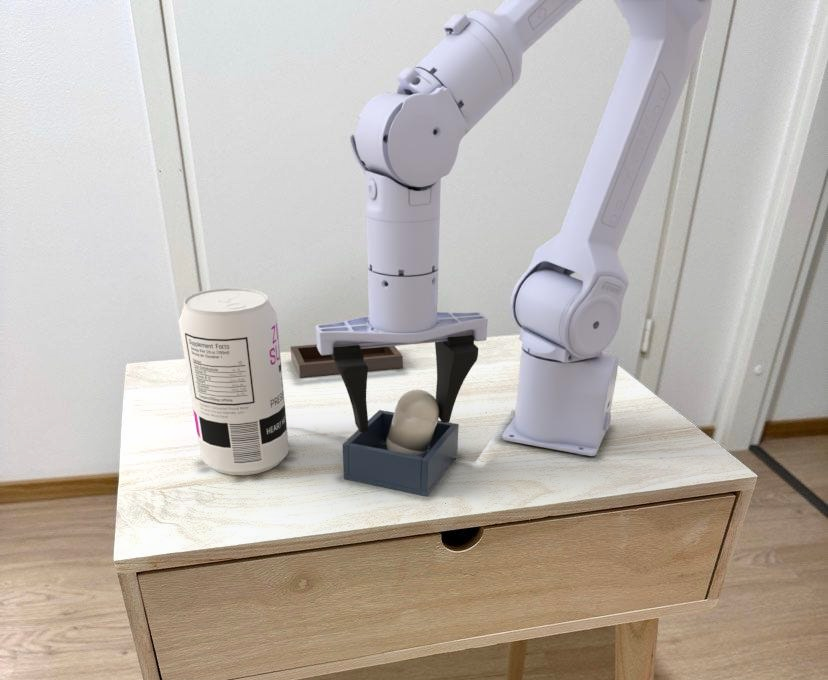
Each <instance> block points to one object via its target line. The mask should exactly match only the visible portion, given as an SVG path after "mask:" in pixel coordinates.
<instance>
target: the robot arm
mask: <svg viewBox="0 0 828 680" xmlns="http://www.w3.org/2000/svg"><path fill="white" fill-rule="evenodd" d="M582 1H583V0H503V2H502V3H500V5H498V7H497V8H496V9H495V11H494V12H489V11H485V10H481V9H474V10H471V11H469V12H468V13H467V14H464V13H463V14H458V13H457V14H453V15H452V16H451V17H450V18H449V19H448V20H447V22H445V23H444V24H443V30H444V32H445V34H446V35H445V36H444V37H443V38H442V40H441V41H439V42H438V43H437V44H436V46H434V48H432V49H431V50H430V51H429V53H427V54H426V55H425V56H424V58H422V60H421V61H419V63H418V64H416V65H415V66H414V67H405V68H404V69H403V70H401V72H400V73H399V74H398V75H397V81H398V82H399V83H398V85H397V88H396V92H392V91H388V92H386V93H383V92H382V93H379V94H377V95H375V96H373V97H372V98H371V99H369V100H368V101H367V103H366V104H365V105H364V106H363V108H362V109H361V111H360V113H359V115H358V119H359V120H358V123H356V125H355V130H354V131H355V132H354V133H353V134H351V135H350V136H349V141H350V148H351V152H352V154H353V157H354V158H355V159H354V160H355V161H356V163H357V164H358V165H359V167H360V168H361V170H362V171H363V173H364V177H365V202H366V203H365V215H366V217H365V218H366V259H367V296H368V297H367V298H368V300H367V302H368V303H367V304H368V315H365V316H361V317H356V318H352V319H346V320H342V321H337V322H332V323H331V322H330V323H324V324H323V323H322V324H316V325H315V341H316V344H317V349H318V351H319V353H320V354H321V355H331V356H332V358H333V360H334V362H335V364H336V366H337V368H338V370H339V372H340V376H341V379H342V382H343V384H344V386H345V389H346V392H347V394H348V398H349V400H350V404H351V408H352V412H353V417H354V423H355V426H356V427H357V430H359V431H360V432H368V420H369V417H368V415H369V414H368V406H367V405H368V404H367V388H368V387H367V385H368V373H369V372H368V366H367V364H366V363H365V361H364V355H363V354H362V352H361V351H360V349H366V348H377V347H388V346H395V347H397V346H399V347H400V346H409V345H419V344H421V345H422V344H433V343H434V345H435V346H434V347H435V360H436V361H435V362H436V388H435V389H436V390H435V399H436V401H437V403H438V405H439V418H438V419H439V421H442V422H443V423H445V422H450V423H451V417H452V414H453V409H454V406H455V403H456V401H457V398H458V395H459V392H460V390H461V388H462V385H463V383H464V382H465V380H466V377H467V376H468V374H469V373H470V371H471V369H472V368H473V366H474V365H475V363H476V362H477V361H478V356H479V347H478V346H477V345H476V344H475V342H484V341H487V338H488V336H487V335H488V317H487V316H486V315H484V314H482V312H481V311H475V312H452V311H438V301H439V299H438V297H439V295H438V294H439V261H440V259H439V257H440V255H439V254H440V220H441V219H440V218H441V190H442V189H441V187H442V186H441V185H442V178H444V177H447V176H448V175H449V174H450V172H451V171H452V170H453V167H454V165H455V163H456V160H457V157H458V153H459V148H460V144H461V141H462V140H463V138H464V137H465V136H466V135H467V134H468V133H469V132H470V131H471V130H472V129H473V128H474V127H475V126H476V125H477V124H479V122H480V121H481V120H482V119H483V118H484V117H485V116H486V115H487V114H488V113H489V112H490V111H491V110H492V109H493V108H494V107H495V106H496V105H497V104H498V103H499V102H500V101H501V100H502V99H503V98H504V97H505V96H506V95H507V94H508V93H509V92H510V91H511V90H512V89H513V88H514V87H515V86H516V85H517V84H518V82H519V80H520V79H521V75H522V66H523V56H524V53H525V52H526V51H527V50H529V49H530V48H531V47H532V46H533V45H534V44H536V43H537V41H538V40H540V39H541V38H542V37H543V36H544V35H545V34H547V32H549V31H550V30H551V29H552V28H553V27H554V26H555V25H556V24H557V23H559V22H560V21H561V20H562V19H563V18H564V17H566V16H567V14H568V13H570V12H571V11H572V10H573V9H574V8H575V7H576V6H578V4H580V3H581V2H582ZM612 1H613V3H614V4H615V5H616V7H617V9H618V10H619V13H620V14H621V15H622V17H623V18H624V19H625V20H626V23H627V25H628V29H629V32H630V38H631V39H630V41H629V42H630V43H629V45H628V47H627V51H626V53H625V56H624V59H623V61H622V64H621V67H620V69H619V71H618V74H617V78H616V80H615V83H614V86H613V88H612V91H611V93H610V97H609V100H608V101H607V104H606V107H605V110H604V112H603V116H602V118H601V120H600V123H599V126H598V128H597V131H596V134H595V137H594V140H593V142H592V144H591V147H590V150H589V153H588V155H587V158H586V161H585V163H584V167H583V169H582V172H581V174H580V177H579V179H578V182H577V185H576V187H575V191H574V193H573V195H572V199H571V202H570V204H569V206H568V210H567V212H566V215H565V217H564V221H563V223H562V226H561V229H560V230H559V232H558V233H557V234H556V235H554V237H552V238H551V239H549V240H547V241H546V242H545V243H543V244H542V245H541V246H538V247H537V248H536V250H535V252H534V255H533V257H532V259H531V262H530V264H529V265H528V267H527V269H526V271H524V273H523V274H522V275H521V276H520V277H519V278H518V279H517V282H516V283H515V284H514V287H513V289H512V292H511V295H510V301H509V312H510V316H511V319H512V321H513V322H514V324H515V325H516V326H517V327H518V328H519V336H518V339H519V341H521V350H520V360H519V369H518V382H517V391H516V402H515V411H514V417H513V418H512V420H511V421H510V422H509V424H508V426H507V427H506V428H505V430H504V431H503V433H502V434H501V439H502V440H503V441H506V442H511V443H517V444H523V445H527V446H533V447H539V448H545V449H550V450H555V451H560V452H567V453H572V454H577V455H583V456H588V457H594V456H596V455H597V454H598V451H599V449H600V446H601V444H602V443H603V440H604V437H605V435H606V433H607V431H608V430H609V428H610V423H611V420H612V412H611V411H612V404H613V399H614V393H615V388H616V387H615V386H616V382H617V375H618V369H619V357H618V356H616V355H613V354H609V353H606V352H604V350H606V348H608V347H609V345H610V344H611V343H612V341H613V340H614V338H615V336H616V335H617V332H618V330H619V328H620V323H621V320H622V310H623V309H622V306H623V301H624V298H625V295H626V292H627V289H628V287H629V285H630V282H629V279H628V276H627V273H626V271H625V269H624V267H623V265H622V262H621V260H620V258H619V255H618V251H619V248H620V246H621V244H622V241H623V239H624V238H625V237H624V236H625V234H626V232H627V229H628V226H629V224H630V221H631V219H632V217H633V214H634V211H635V209H636V206H637V205H638V201H639V200H640V197H641V194H642V192H643V191H644V190H643V189H644V188H645V185H646V183H647V180H648V178H649V175H650V172H651V170H652V167H653V165H654V162H655V160H656V158H657V155H658V152H659V150H660V147H661V145H662V143H663V141H664V138H665V136H666V133H667V130H668V128H669V125H670V123H671V120H672V118H673V115H674V113H675V110H676V108H677V105H678V103H679V101H680V98H681V96H682V93H683V91H684V89H685V87H686V84H687V82H688V78H689V76H690V74H691V71H692V69H693V66H694V64H695V61H696V59H697V56H698V54H699V51H700V49H701V47H702V44H703V41H704V38H705V35H706V34H707V33H706V32H707V30H708V25H709V20H710V17H711V11H712V10H711V9H712V5H713V0H612ZM575 273H576V274H578V275H579V276H580V277H581V279H579V278H576V277H574V276H572V275H574V274H575Z"/></svg>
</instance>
